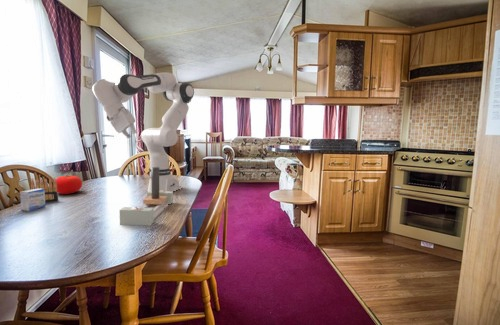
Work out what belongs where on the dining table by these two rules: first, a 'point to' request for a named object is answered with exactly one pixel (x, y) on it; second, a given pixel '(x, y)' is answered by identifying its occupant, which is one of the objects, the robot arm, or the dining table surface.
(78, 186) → the tomato
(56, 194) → the ammunition clip
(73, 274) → the dining table surface
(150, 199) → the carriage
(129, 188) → the dining table surface
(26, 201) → the medicine box
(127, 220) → the track
